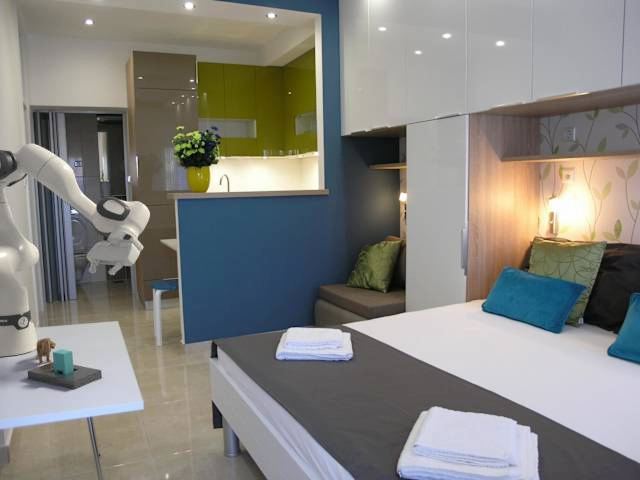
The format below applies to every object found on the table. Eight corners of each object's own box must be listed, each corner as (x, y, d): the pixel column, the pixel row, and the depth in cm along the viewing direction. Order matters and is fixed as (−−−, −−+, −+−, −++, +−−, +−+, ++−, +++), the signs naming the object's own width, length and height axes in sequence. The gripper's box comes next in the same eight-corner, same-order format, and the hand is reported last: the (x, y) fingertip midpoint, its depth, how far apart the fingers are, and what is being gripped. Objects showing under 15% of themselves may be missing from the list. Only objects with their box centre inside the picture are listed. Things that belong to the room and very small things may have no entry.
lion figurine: (58, 363, 188) (56, 337, 187) (41, 367, 185) (39, 341, 184) (45, 353, 199) (43, 329, 198) (29, 357, 196) (27, 332, 195)
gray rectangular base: (28, 378, 174) (27, 370, 174) (56, 368, 183) (55, 361, 183) (74, 389, 165) (73, 381, 165) (101, 377, 174) (101, 370, 173)
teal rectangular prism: (54, 378, 174) (52, 352, 173) (63, 375, 177) (61, 349, 176) (65, 381, 172) (63, 354, 171) (74, 377, 174) (72, 351, 173)
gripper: (95, 234, 202) (74, 265, 194) (137, 236, 192) (116, 269, 185) (105, 245, 206) (85, 276, 199) (147, 248, 197) (127, 280, 189)
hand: (100, 273), depth 192 cm, fingers open, 8 cm apart
